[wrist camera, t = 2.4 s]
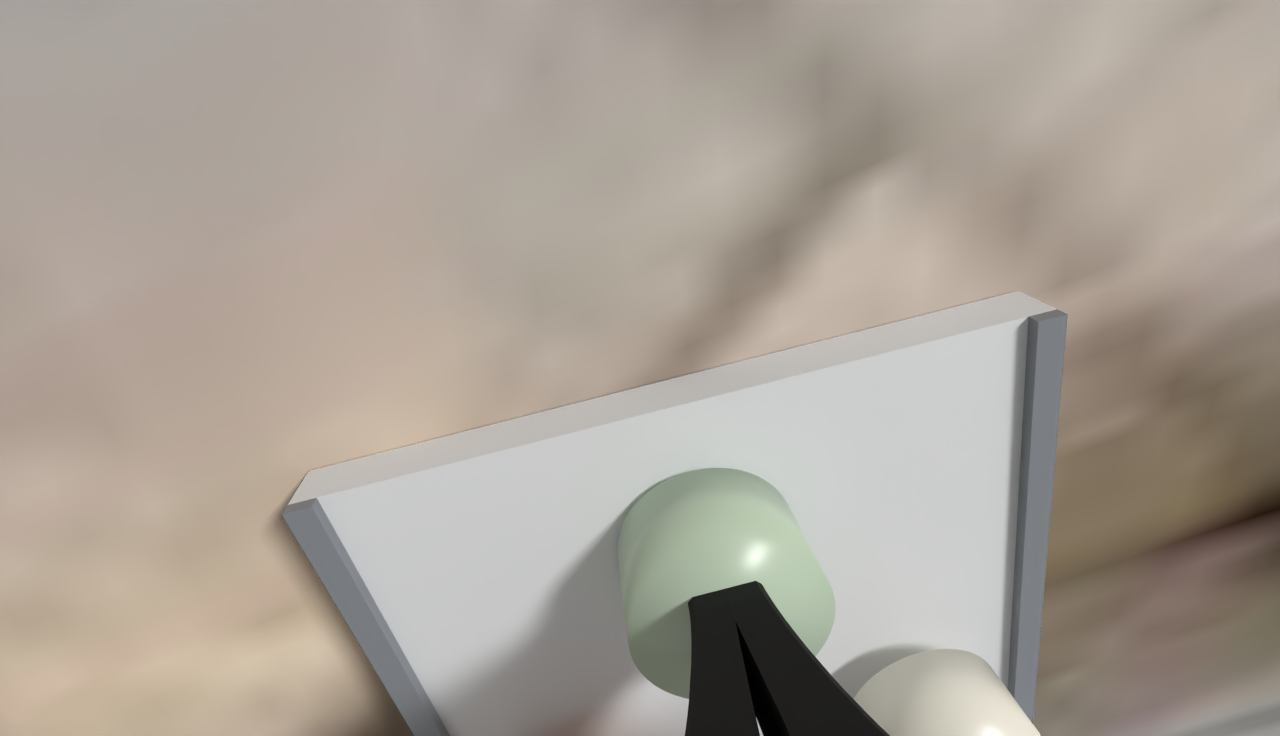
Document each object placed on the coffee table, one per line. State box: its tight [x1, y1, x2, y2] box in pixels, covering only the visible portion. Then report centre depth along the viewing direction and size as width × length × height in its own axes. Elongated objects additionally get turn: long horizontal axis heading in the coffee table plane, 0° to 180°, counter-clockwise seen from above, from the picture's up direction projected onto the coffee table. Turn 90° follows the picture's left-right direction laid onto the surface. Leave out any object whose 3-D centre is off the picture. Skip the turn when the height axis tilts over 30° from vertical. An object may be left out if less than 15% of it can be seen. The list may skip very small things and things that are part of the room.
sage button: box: [617, 468, 836, 699], centre depth 13 cm, size 4×4×2 cm
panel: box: [282, 291, 1068, 736], centre depth 16 cm, size 14×16×2 cm
